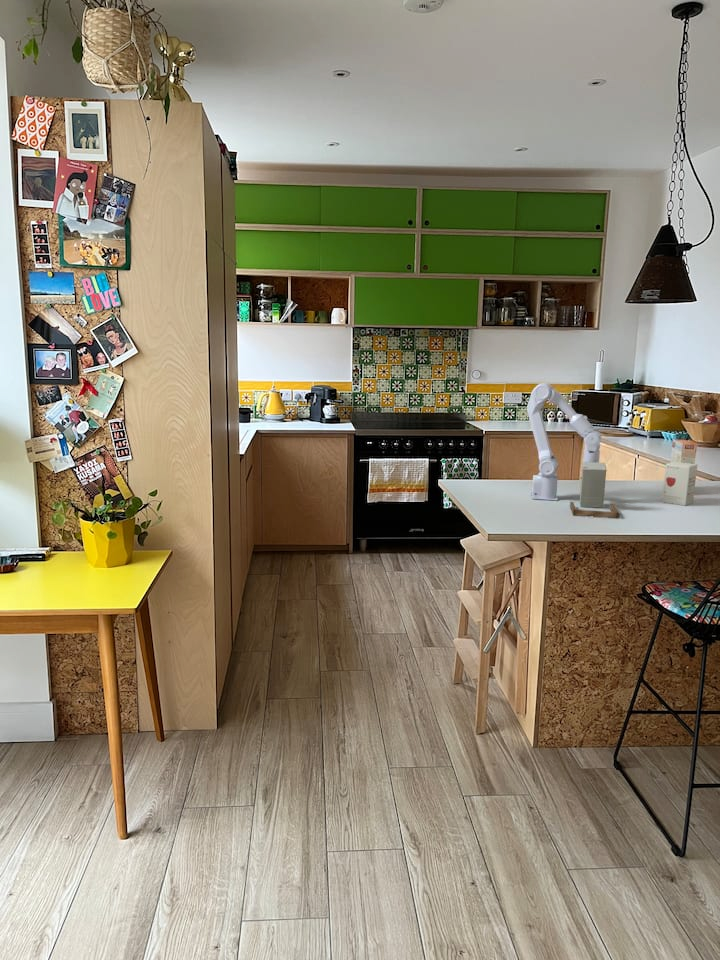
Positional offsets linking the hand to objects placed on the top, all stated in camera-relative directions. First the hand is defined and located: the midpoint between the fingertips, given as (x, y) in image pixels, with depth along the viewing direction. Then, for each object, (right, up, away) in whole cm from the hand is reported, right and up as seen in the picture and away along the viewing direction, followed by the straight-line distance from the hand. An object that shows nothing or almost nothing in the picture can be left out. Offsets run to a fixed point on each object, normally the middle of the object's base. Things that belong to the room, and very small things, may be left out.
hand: (588, 497), depth 268 cm
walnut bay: (-4, -5, -17) cm, 18 cm away
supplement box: (+35, -2, +3) cm, 35 cm away
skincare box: (-1, -2, -7) cm, 7 cm away
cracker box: (+46, +2, +25) cm, 52 cm away
